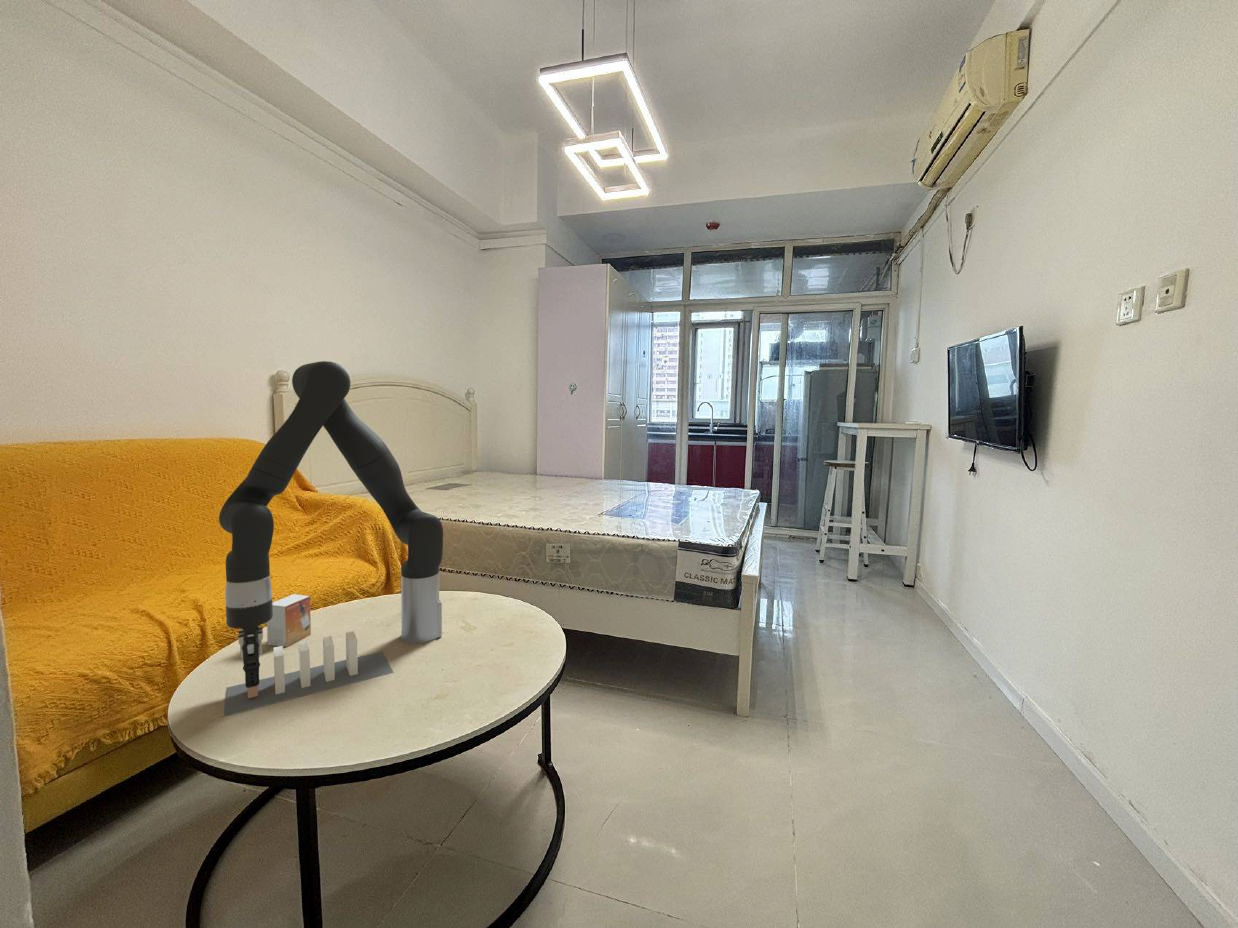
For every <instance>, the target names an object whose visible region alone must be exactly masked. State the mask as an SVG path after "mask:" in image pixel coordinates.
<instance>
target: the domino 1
mask: <svg viewBox="0 0 1238 928" xmlns="http://www.w3.org/2000/svg"><path fill="white" fill-rule="evenodd" d="M253 662H256V660H252V661H248V662H247V664H248V663H253ZM247 690H248V698H252V697H256V696H258V685H257V686H254V687H250V688H247Z"/></svg>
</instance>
